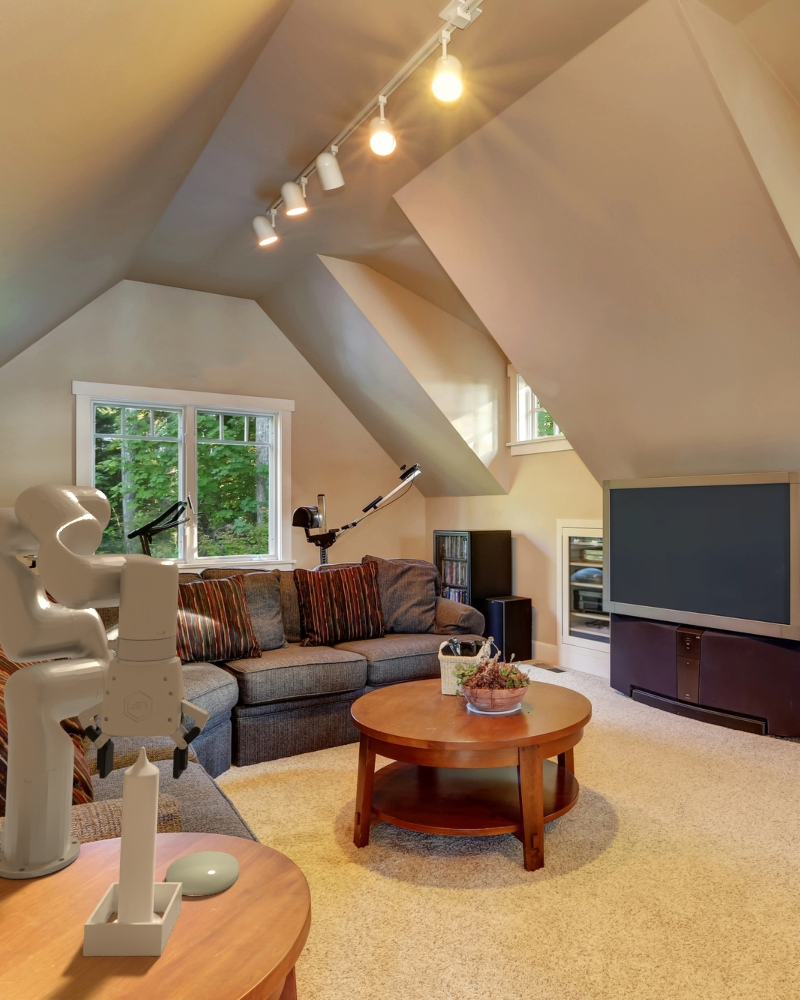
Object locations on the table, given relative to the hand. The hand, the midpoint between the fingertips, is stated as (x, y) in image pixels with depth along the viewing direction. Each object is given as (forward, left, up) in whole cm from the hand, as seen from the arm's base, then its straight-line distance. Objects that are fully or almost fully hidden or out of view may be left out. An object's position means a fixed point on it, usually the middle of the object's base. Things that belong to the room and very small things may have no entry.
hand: (142, 775), depth 91 cm
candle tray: (0, 0, -21) cm, 21 cm away
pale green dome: (-1, +15, -21) cm, 26 cm away
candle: (0, 0, -21) cm, 21 cm away
